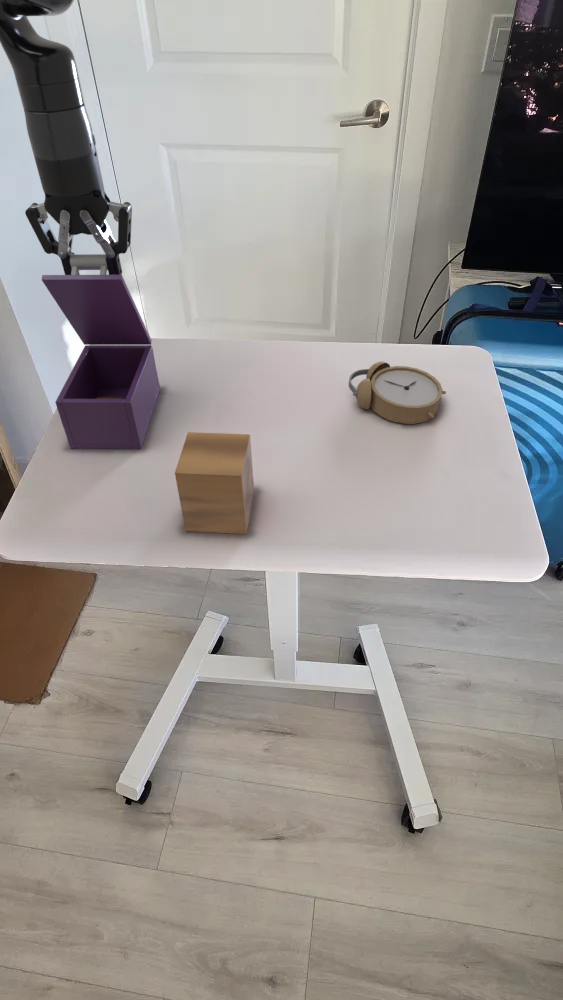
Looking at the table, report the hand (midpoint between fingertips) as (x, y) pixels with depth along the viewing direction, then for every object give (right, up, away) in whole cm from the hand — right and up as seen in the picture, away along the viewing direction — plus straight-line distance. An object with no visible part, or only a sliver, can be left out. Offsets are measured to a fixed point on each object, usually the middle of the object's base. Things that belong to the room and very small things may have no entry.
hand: (95, 280), depth 89 cm
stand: (+18, -33, -5) cm, 38 cm away
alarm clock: (+44, -15, +12) cm, 48 cm away
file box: (0, -18, +11) cm, 21 cm away
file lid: (0, -4, +2) cm, 5 cm away
